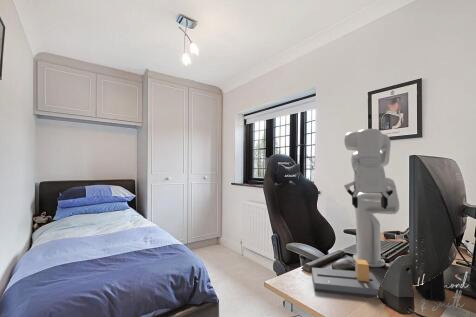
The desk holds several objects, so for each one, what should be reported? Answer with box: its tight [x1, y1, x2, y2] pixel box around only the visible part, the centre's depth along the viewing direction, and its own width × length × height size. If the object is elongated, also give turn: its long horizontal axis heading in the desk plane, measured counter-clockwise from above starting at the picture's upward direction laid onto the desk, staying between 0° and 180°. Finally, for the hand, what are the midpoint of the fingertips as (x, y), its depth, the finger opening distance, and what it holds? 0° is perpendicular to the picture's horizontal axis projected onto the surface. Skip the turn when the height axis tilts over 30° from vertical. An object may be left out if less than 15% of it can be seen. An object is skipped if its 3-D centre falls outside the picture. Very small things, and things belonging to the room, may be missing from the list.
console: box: [311, 267, 381, 298], centre depth 86 cm, size 12×22×3 cm, turn 77°
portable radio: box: [414, 271, 446, 302], centre depth 79 cm, size 8×6×25 cm
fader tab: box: [354, 259, 370, 282], centre depth 85 cm, size 4×4×8 cm
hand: (369, 207), depth 88 cm, fingers open, 9 cm apart
